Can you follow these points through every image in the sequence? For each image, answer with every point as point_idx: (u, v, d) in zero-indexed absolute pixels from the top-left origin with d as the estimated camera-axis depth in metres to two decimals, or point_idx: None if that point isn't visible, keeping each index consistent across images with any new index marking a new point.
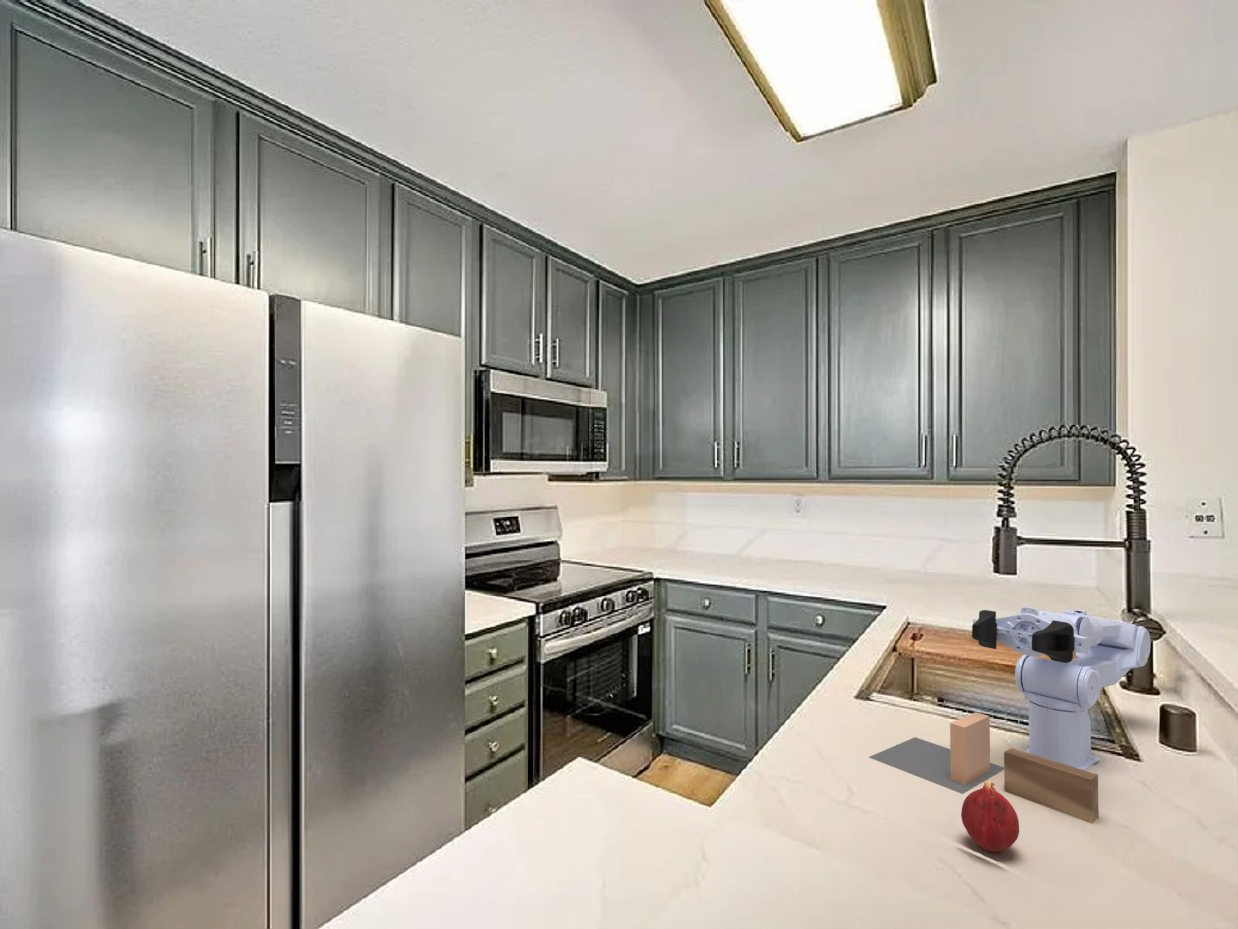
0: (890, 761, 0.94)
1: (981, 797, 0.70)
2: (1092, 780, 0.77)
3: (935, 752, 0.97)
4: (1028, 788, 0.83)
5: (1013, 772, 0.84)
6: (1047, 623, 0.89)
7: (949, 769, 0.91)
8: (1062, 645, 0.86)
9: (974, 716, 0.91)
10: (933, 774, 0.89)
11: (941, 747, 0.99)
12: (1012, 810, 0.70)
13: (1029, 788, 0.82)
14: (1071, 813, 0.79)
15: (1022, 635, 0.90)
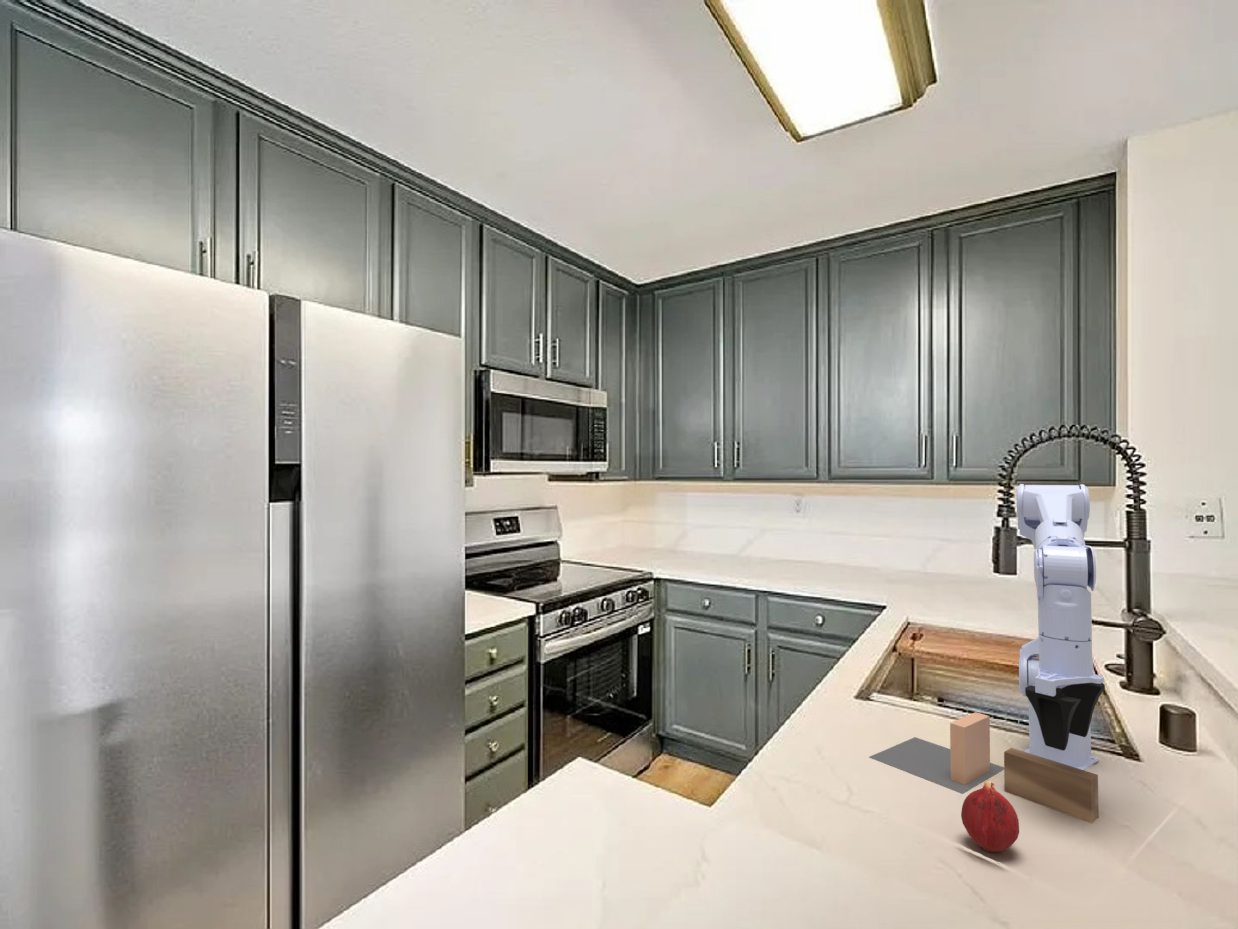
0: (890, 761, 0.94)
1: (981, 797, 0.71)
2: (1092, 780, 0.77)
3: (935, 752, 0.97)
4: (1028, 789, 0.83)
5: (1013, 772, 0.84)
6: None
7: (949, 769, 0.91)
8: None
9: (974, 716, 0.91)
10: (933, 774, 0.89)
11: (941, 747, 0.99)
12: (1012, 810, 0.70)
13: (1029, 789, 0.82)
14: (1071, 813, 0.79)
15: None
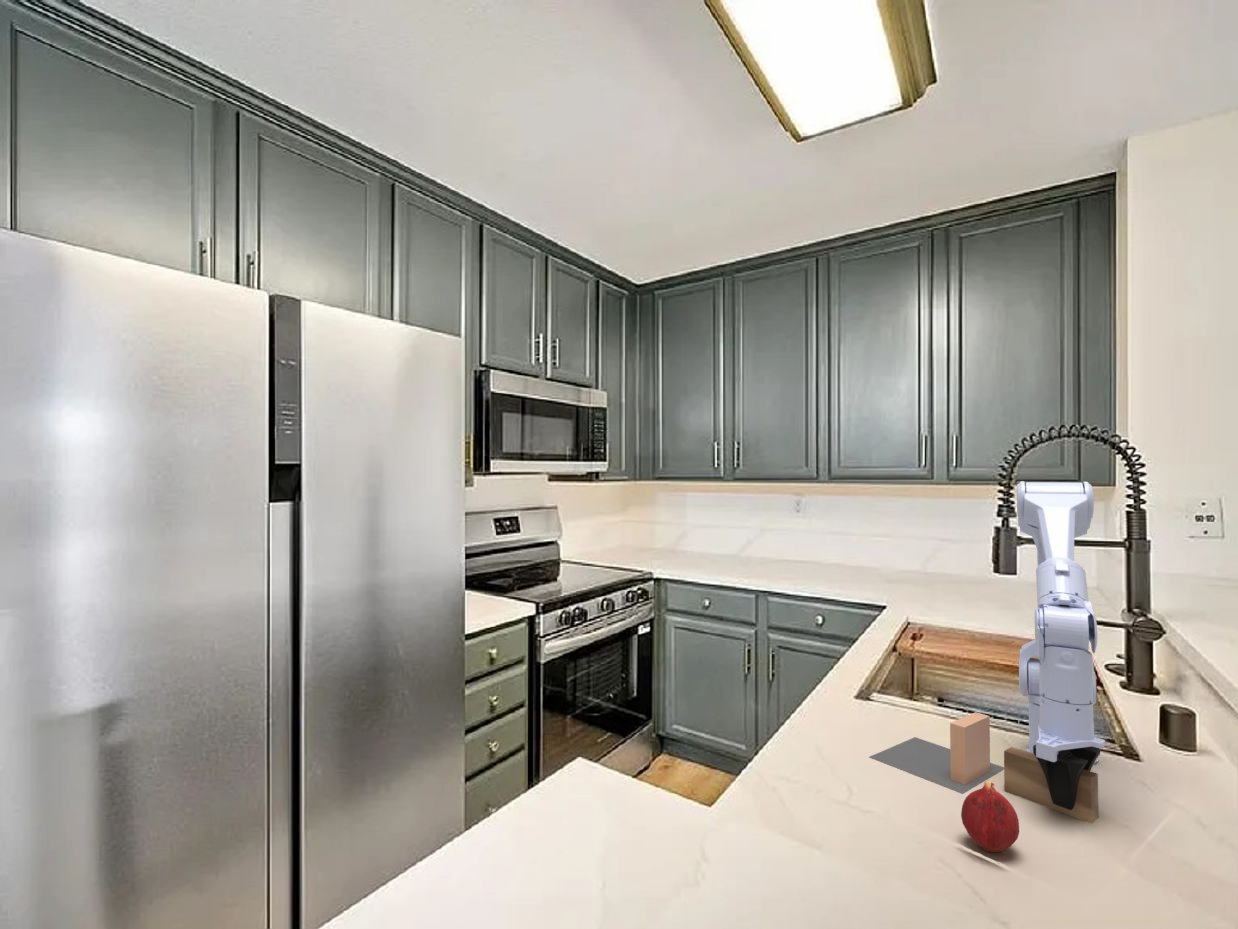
0: (890, 761, 0.94)
1: (981, 797, 0.71)
2: (1092, 779, 0.77)
3: (935, 752, 0.97)
4: (1028, 788, 0.83)
5: (1013, 771, 0.84)
6: None
7: (949, 769, 0.91)
8: None
9: (974, 716, 0.91)
10: (933, 774, 0.89)
11: (941, 747, 0.99)
12: (1012, 810, 0.70)
13: (1029, 787, 0.82)
14: (1071, 812, 0.79)
15: None
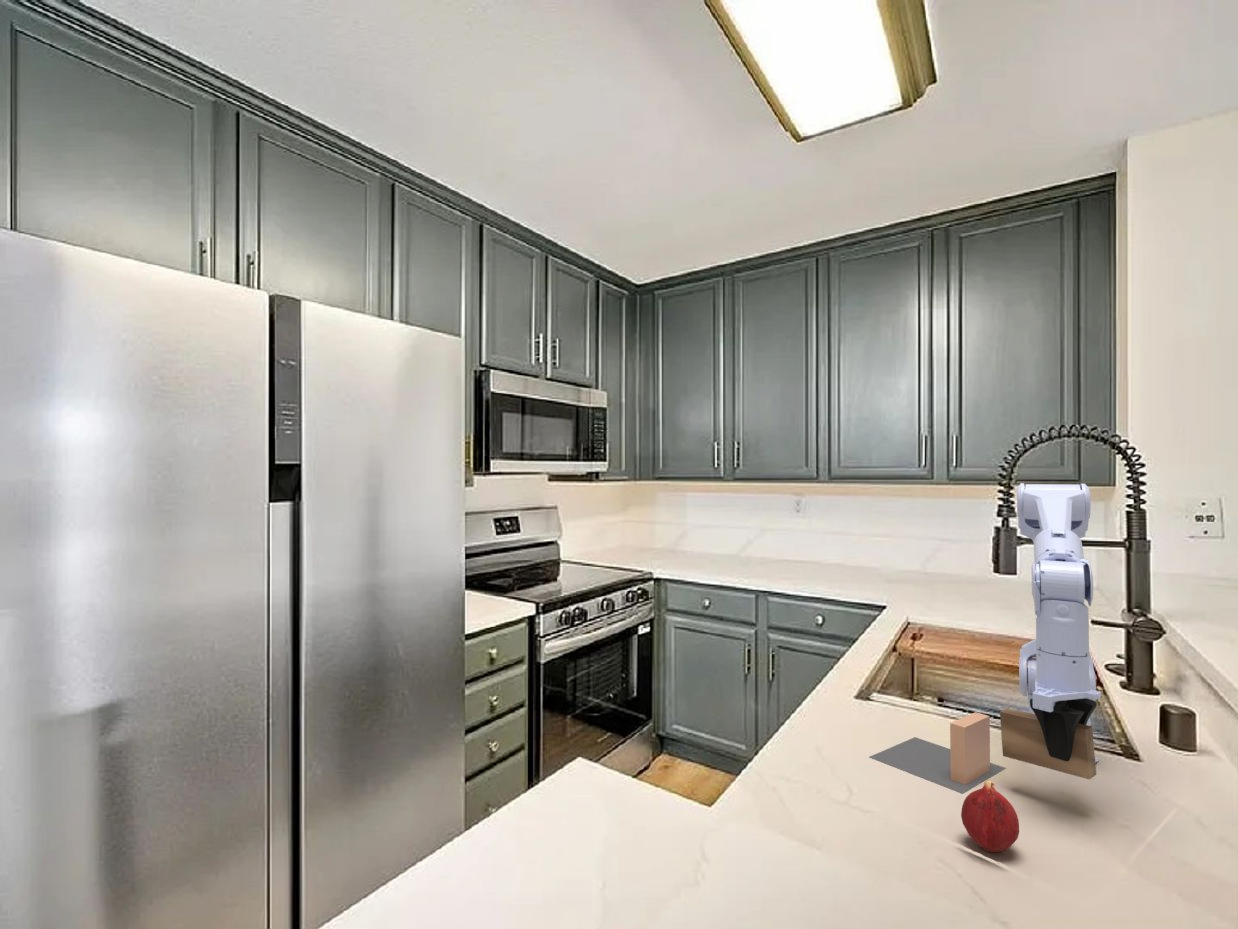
0: (890, 761, 0.94)
1: (981, 797, 0.71)
2: (1087, 731, 0.78)
3: (935, 752, 0.97)
4: (1025, 746, 0.83)
5: (1010, 731, 0.85)
6: None
7: (949, 769, 0.91)
8: None
9: (974, 716, 0.91)
10: (933, 774, 0.89)
11: (941, 747, 0.99)
12: (1012, 810, 0.70)
13: (1026, 746, 0.83)
14: (1068, 766, 0.79)
15: None
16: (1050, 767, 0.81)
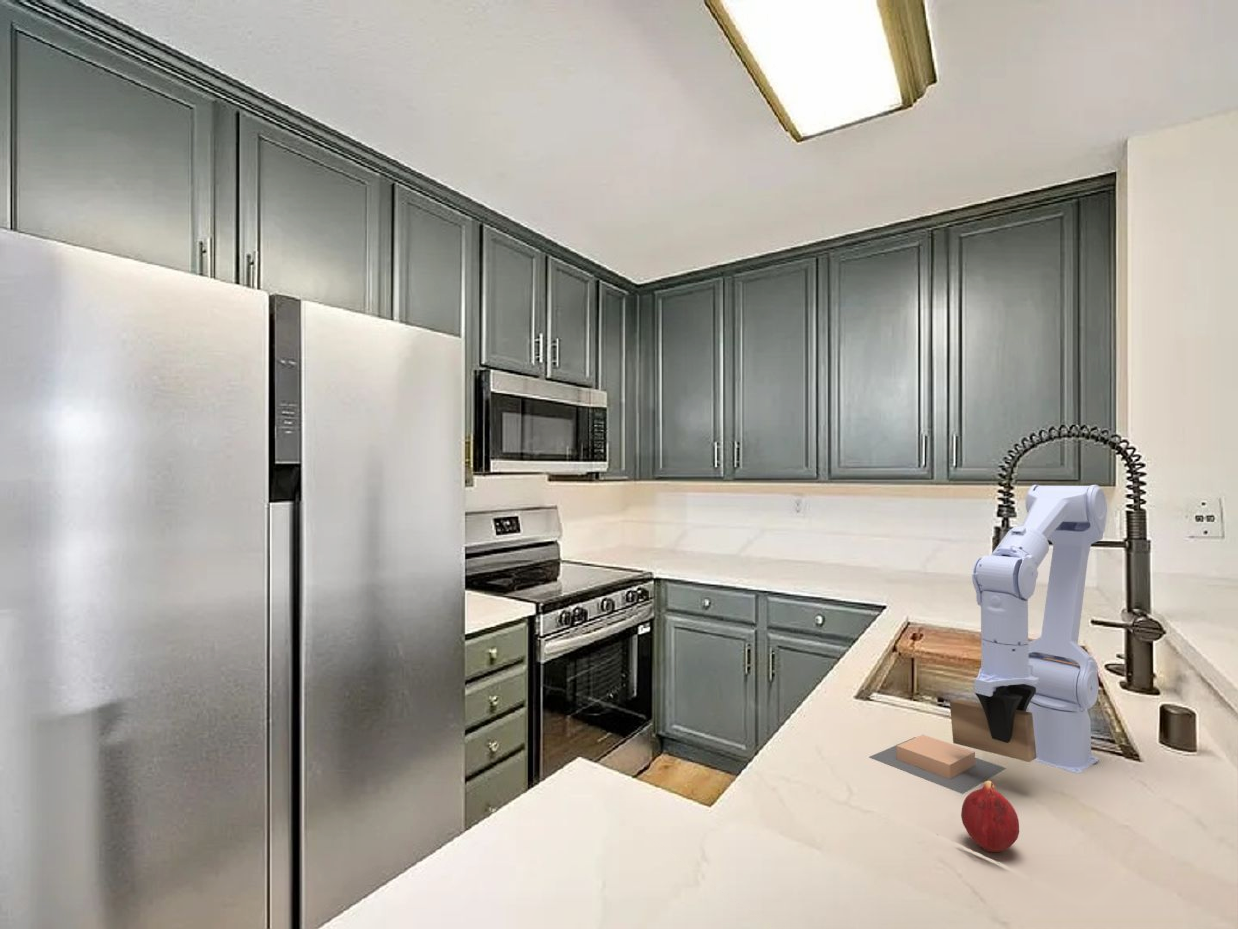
0: (890, 761, 0.94)
1: (981, 797, 0.71)
2: (1026, 716, 0.84)
3: None
4: (972, 733, 0.88)
5: (959, 719, 0.90)
6: None
7: None
8: None
9: None
10: (933, 774, 0.89)
11: None
12: (1012, 810, 0.70)
13: (973, 733, 0.88)
14: (1011, 750, 0.84)
15: None
16: (995, 752, 0.86)
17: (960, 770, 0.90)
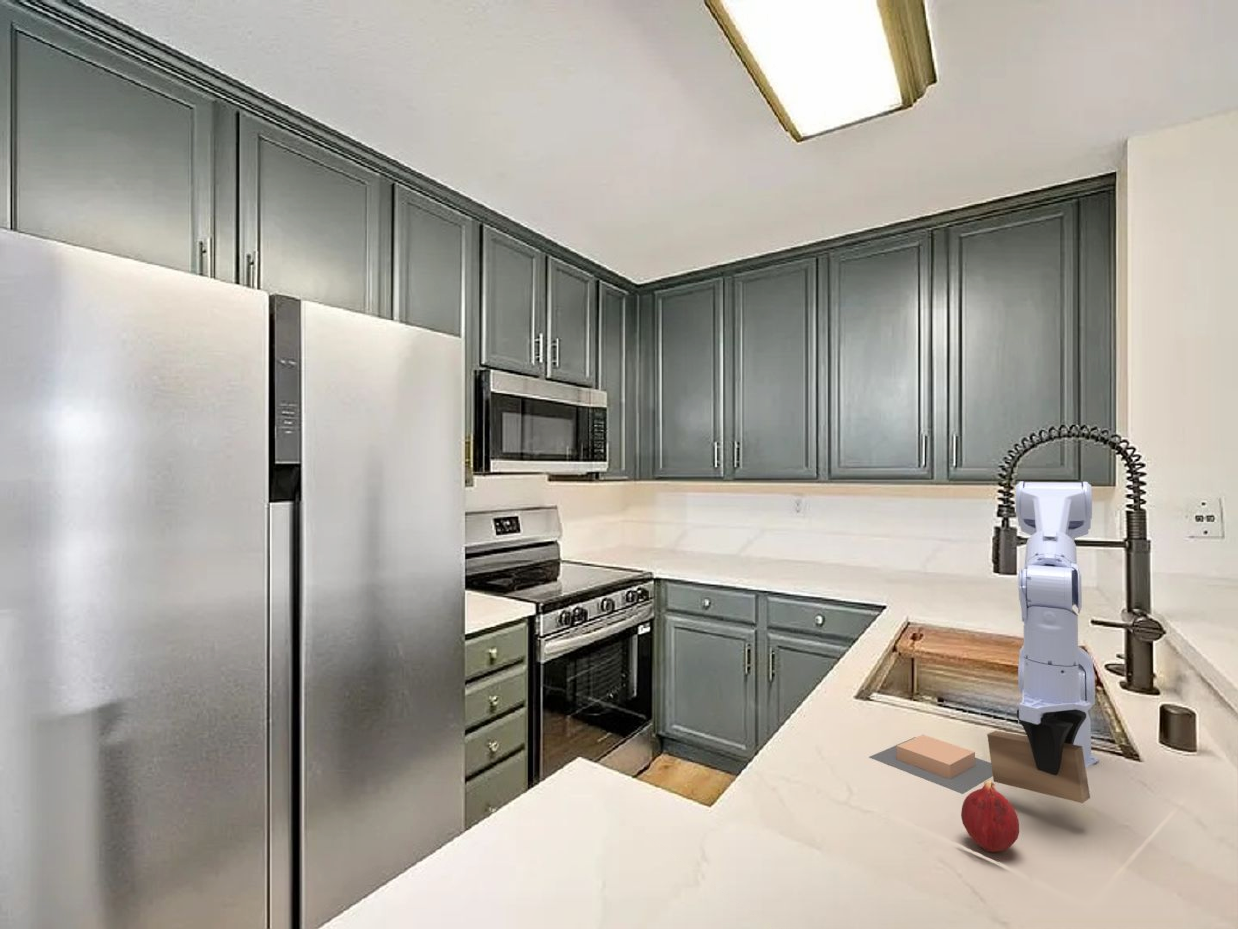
0: (890, 761, 0.94)
1: (981, 797, 0.70)
2: (1076, 751, 0.75)
3: None
4: (1015, 770, 0.79)
5: (999, 755, 0.81)
6: None
7: None
8: None
9: None
10: (933, 774, 0.89)
11: None
12: (1012, 810, 0.70)
13: (1016, 770, 0.79)
14: (1060, 790, 0.75)
15: None
16: (1042, 791, 0.77)
17: (960, 770, 0.90)
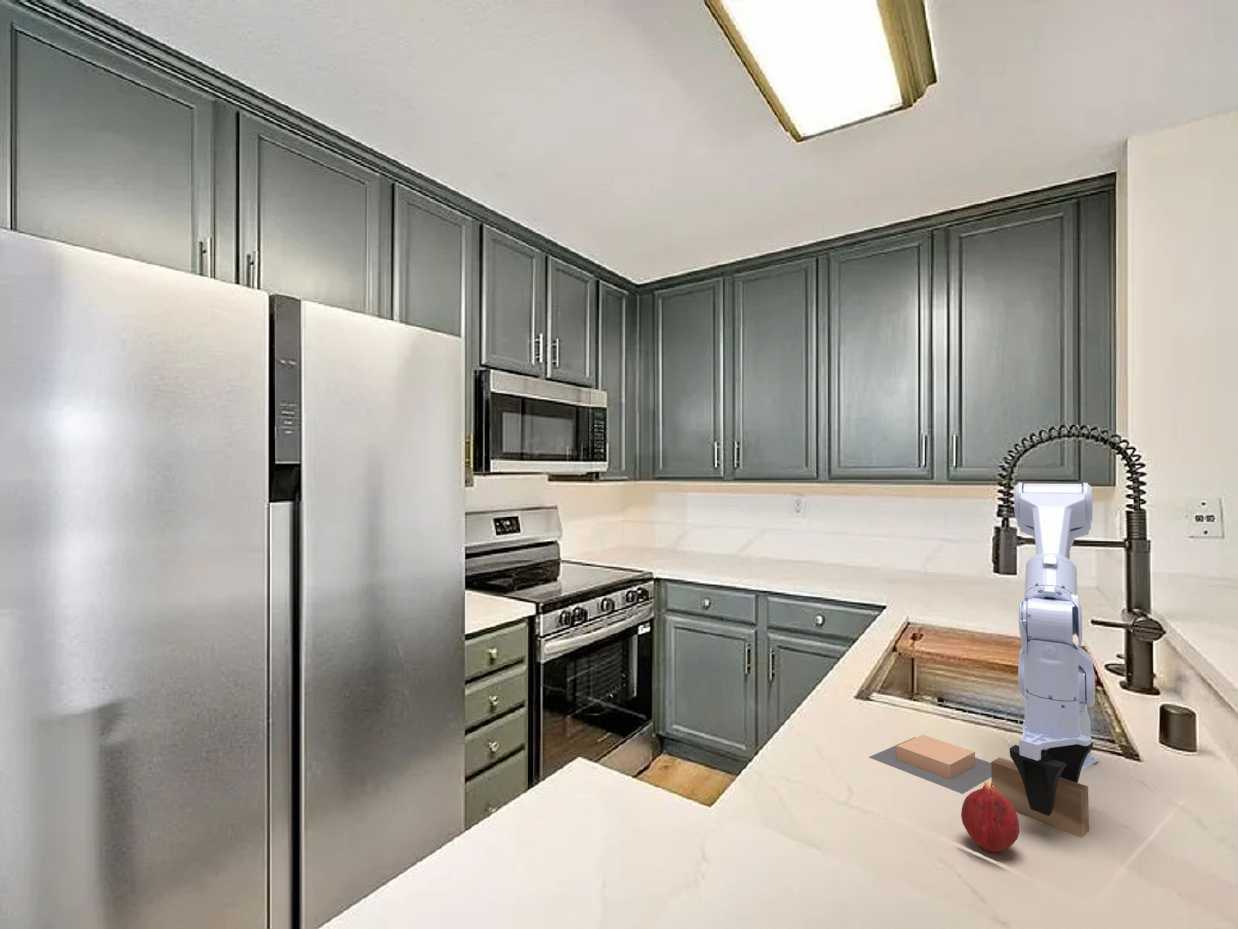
0: (890, 761, 0.94)
1: (981, 797, 0.70)
2: (1082, 792, 0.74)
3: None
4: (1016, 800, 0.79)
5: (1001, 783, 0.81)
6: None
7: None
8: None
9: None
10: (933, 774, 0.89)
11: None
12: (1012, 810, 0.70)
13: (1017, 800, 0.79)
14: (1060, 826, 0.75)
15: None
16: None
17: (960, 770, 0.90)
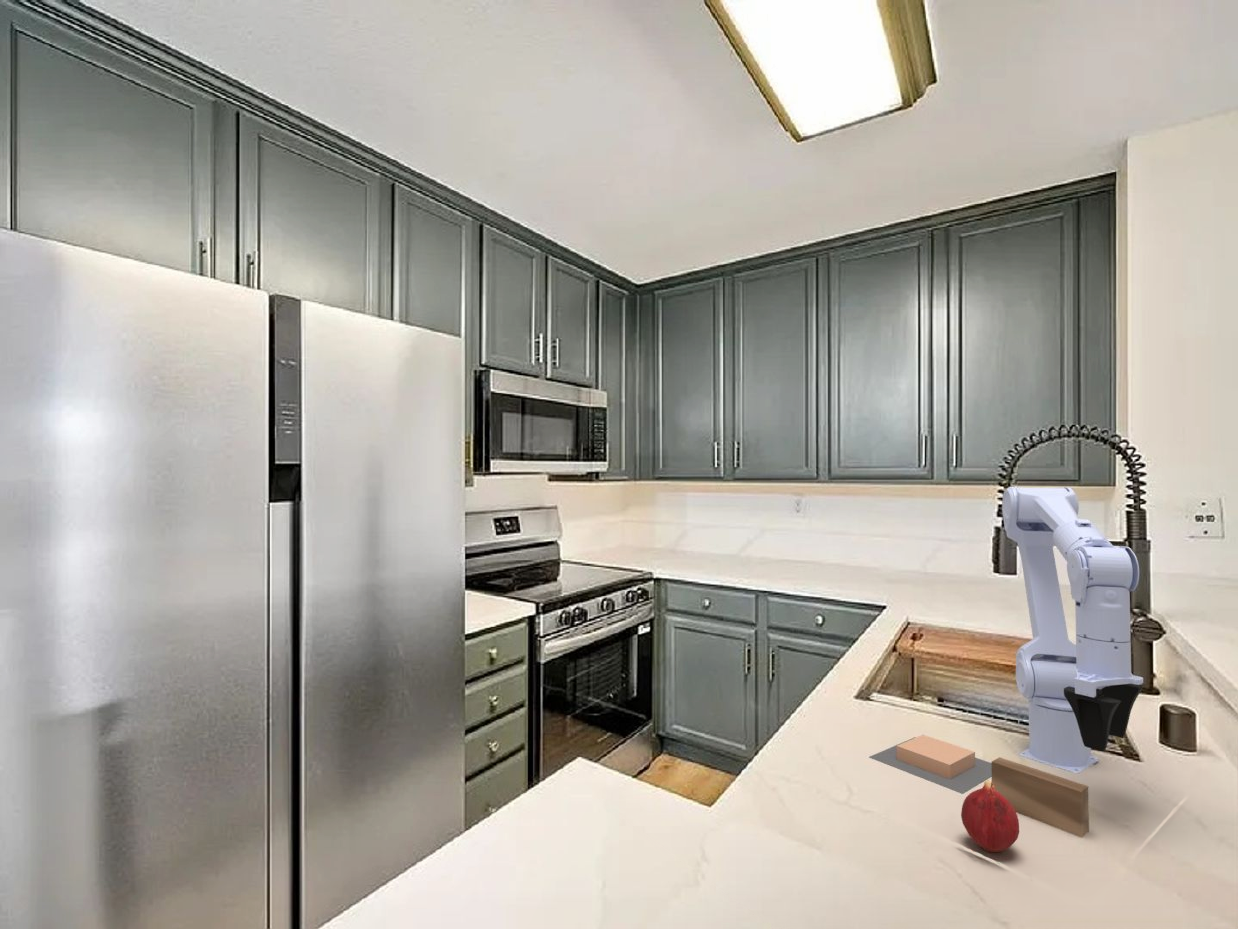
0: (890, 761, 0.94)
1: (981, 797, 0.70)
2: (1082, 792, 0.74)
3: None
4: (1016, 800, 0.79)
5: (1001, 783, 0.81)
6: None
7: None
8: None
9: None
10: (933, 774, 0.89)
11: None
12: (1012, 810, 0.70)
13: (1017, 800, 0.79)
14: (1060, 826, 0.75)
15: None
16: None
17: (960, 770, 0.90)
